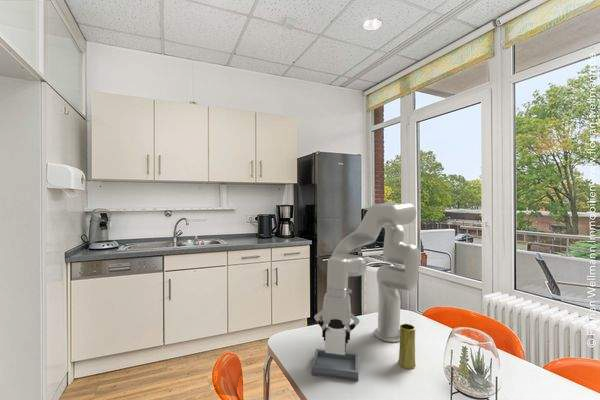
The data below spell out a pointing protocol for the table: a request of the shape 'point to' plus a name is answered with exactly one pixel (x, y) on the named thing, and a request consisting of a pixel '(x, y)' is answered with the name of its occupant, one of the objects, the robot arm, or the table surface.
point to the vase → (407, 346)
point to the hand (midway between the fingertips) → (336, 339)
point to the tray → (335, 365)
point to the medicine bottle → (335, 337)
